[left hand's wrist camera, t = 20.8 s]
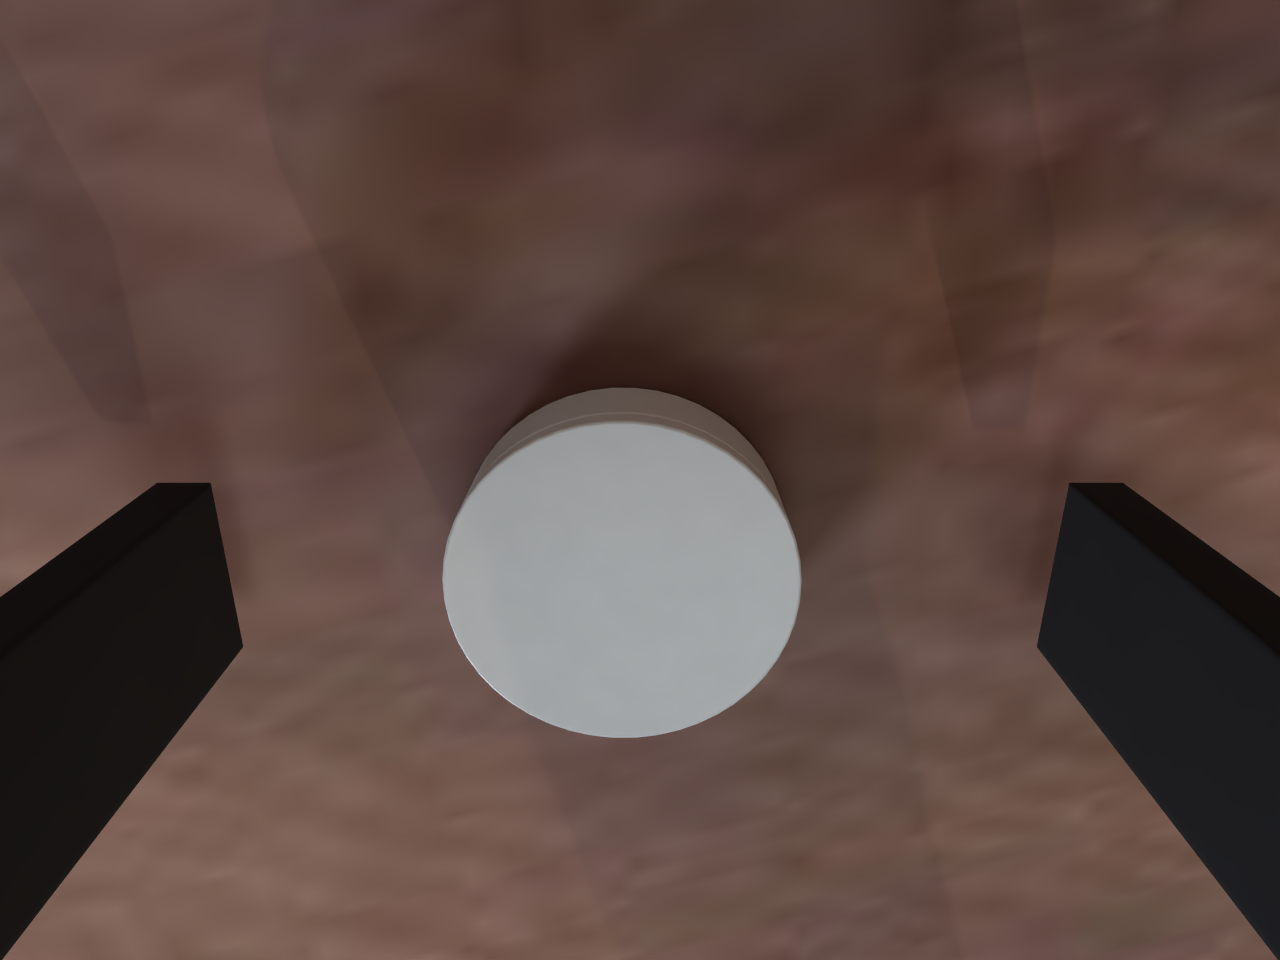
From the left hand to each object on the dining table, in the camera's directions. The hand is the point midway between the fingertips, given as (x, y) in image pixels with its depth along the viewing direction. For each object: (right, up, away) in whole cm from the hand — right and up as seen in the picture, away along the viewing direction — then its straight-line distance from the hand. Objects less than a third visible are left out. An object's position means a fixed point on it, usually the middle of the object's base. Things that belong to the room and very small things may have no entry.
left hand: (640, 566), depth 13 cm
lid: (0, 0, 0) cm, 1 cm away
